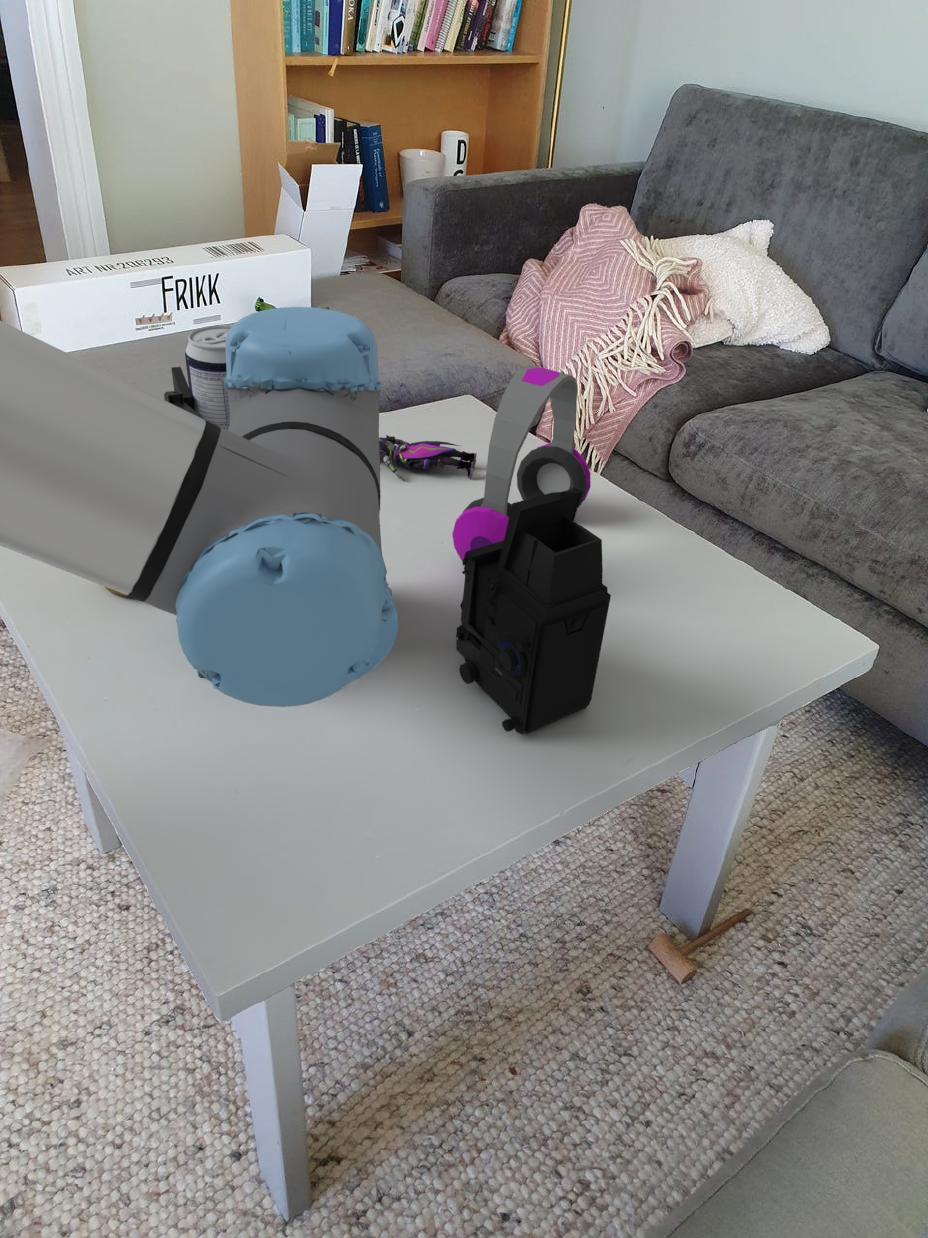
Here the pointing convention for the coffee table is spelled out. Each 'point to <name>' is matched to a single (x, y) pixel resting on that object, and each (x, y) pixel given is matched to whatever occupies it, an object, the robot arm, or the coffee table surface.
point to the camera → (535, 613)
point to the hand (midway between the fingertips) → (216, 379)
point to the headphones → (540, 468)
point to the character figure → (423, 455)
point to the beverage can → (209, 373)
